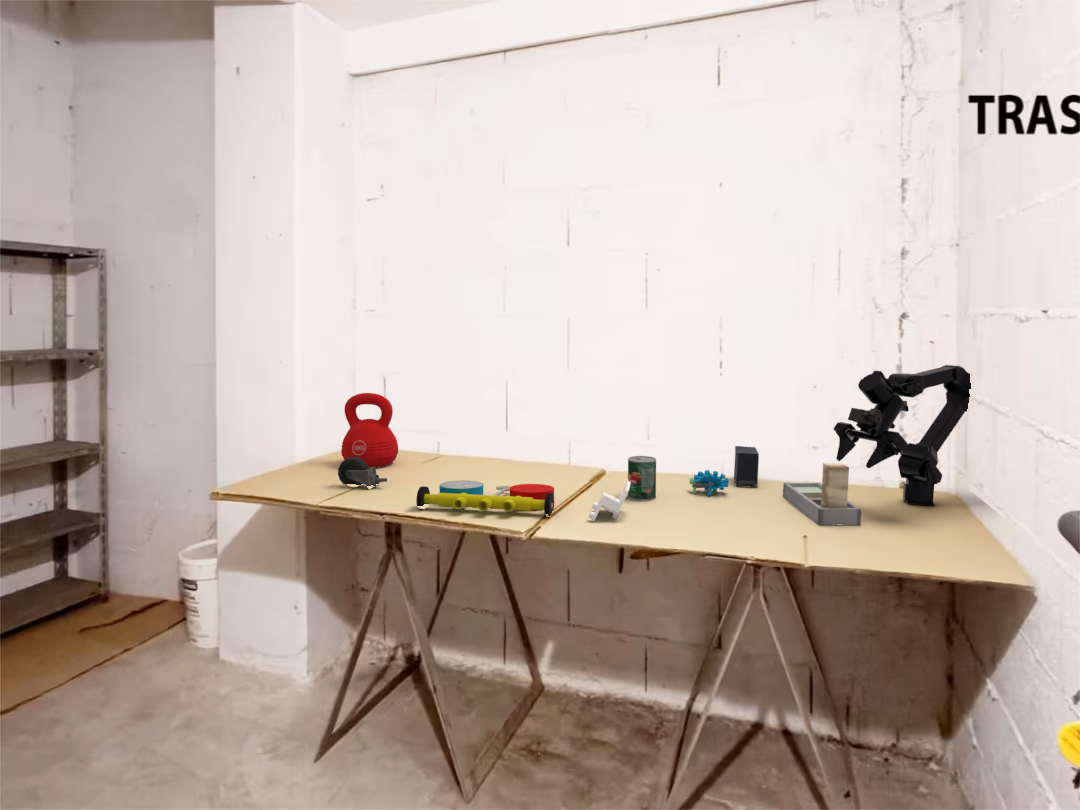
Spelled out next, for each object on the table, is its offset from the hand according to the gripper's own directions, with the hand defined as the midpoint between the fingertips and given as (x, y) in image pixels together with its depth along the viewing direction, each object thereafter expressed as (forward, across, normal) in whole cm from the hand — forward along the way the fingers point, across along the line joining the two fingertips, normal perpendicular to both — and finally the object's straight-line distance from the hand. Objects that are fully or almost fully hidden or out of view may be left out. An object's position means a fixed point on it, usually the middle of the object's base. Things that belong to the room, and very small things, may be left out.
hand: (852, 463), depth 175 cm
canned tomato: (+36, -36, -21) cm, 55 cm away
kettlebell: (+76, -111, -69) cm, 151 cm away
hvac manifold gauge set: (+62, -47, -52) cm, 94 cm away
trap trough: (+13, -6, +5) cm, 15 cm away
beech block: (+13, +2, +1) cm, 13 cm away
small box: (+12, -37, +7) cm, 39 cm away
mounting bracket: (+47, -24, -34) cm, 63 cm away
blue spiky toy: (+23, -32, -6) cm, 40 cm away
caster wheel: (+81, -81, -74) cm, 137 cm away
